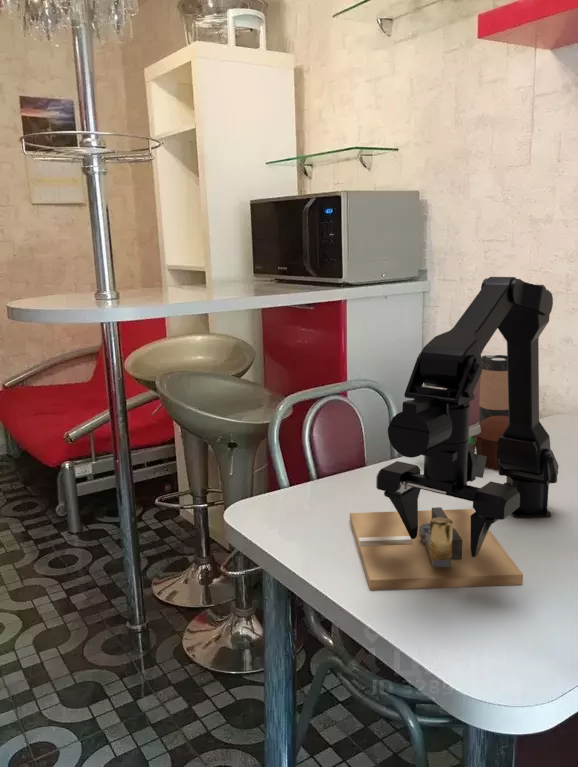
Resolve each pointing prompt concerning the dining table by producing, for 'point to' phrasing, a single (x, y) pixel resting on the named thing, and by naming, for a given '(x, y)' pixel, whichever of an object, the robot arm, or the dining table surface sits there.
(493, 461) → the muffin
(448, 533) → the two-tone long knobbed bar
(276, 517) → the dining table surface
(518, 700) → the dining table surface
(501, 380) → the travel mug
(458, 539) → the lock plate
